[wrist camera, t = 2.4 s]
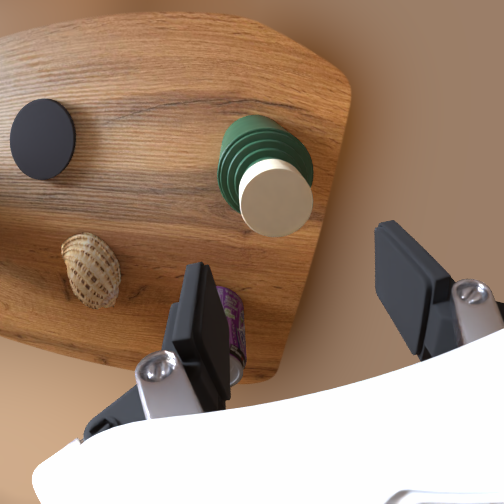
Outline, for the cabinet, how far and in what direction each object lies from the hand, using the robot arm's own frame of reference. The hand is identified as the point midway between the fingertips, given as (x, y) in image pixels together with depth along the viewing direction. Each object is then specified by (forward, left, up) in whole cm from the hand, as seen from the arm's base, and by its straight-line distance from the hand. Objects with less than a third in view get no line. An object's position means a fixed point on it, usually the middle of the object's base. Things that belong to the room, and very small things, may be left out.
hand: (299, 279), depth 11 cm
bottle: (0, 0, -25) cm, 25 cm away
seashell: (+23, -10, -25) cm, 35 cm away
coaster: (+11, -23, -25) cm, 36 cm away
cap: (0, 0, -7) cm, 7 cm away
